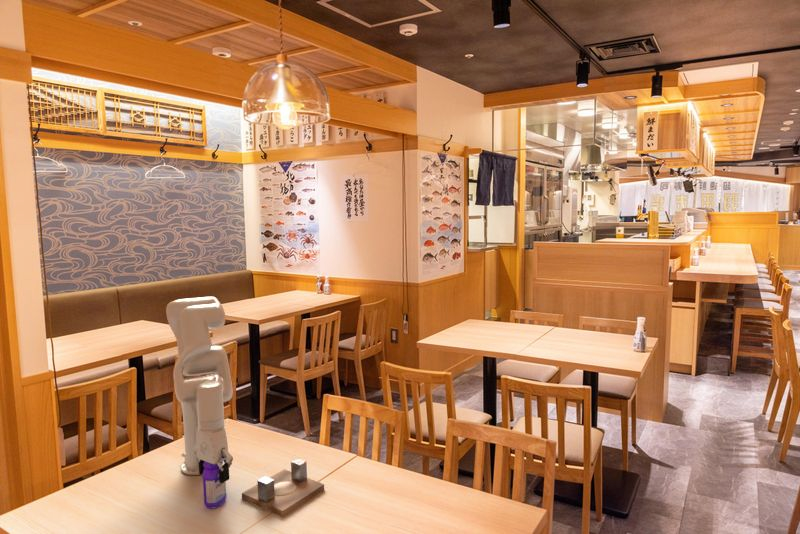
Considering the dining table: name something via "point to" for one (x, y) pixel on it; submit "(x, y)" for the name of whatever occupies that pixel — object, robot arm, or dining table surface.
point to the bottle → (213, 486)
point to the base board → (285, 493)
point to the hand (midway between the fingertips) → (214, 476)
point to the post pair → (267, 484)
